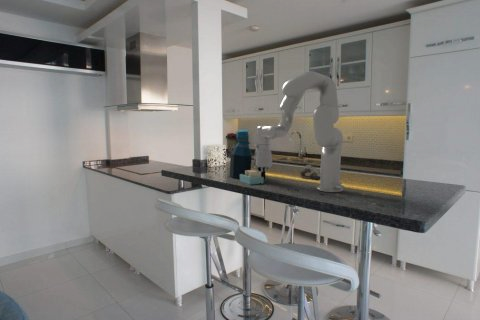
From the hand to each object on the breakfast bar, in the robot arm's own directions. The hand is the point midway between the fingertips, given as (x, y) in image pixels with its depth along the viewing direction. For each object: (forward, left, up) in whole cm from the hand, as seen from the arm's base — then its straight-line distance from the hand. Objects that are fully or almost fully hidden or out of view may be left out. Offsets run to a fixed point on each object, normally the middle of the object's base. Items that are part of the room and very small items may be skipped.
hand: (262, 178), depth 178 cm
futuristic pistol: (-6, -32, -2) cm, 33 cm away
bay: (0, +7, -2) cm, 7 cm away
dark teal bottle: (+21, +4, -2) cm, 21 cm away
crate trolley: (0, +6, -2) cm, 7 cm away
